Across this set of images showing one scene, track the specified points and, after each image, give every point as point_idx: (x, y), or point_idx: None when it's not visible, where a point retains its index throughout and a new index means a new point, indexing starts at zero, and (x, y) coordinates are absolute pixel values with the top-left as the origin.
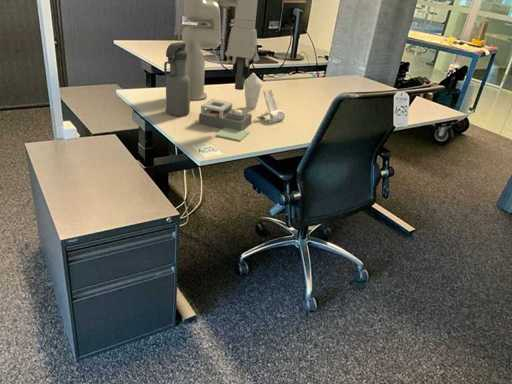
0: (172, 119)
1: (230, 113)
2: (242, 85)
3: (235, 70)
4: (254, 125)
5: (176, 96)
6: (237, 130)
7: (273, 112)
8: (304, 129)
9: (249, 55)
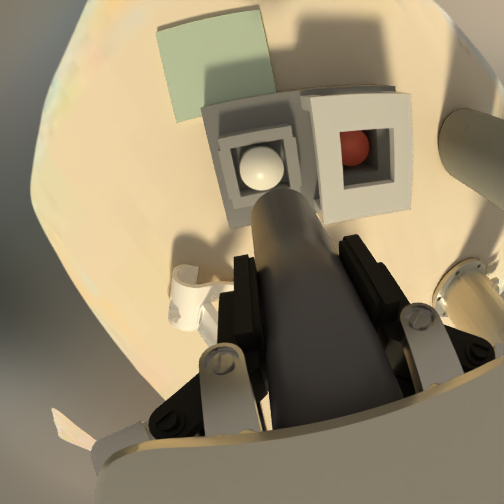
0: (449, 78)
1: (278, 127)
2: (254, 223)
3: (355, 265)
4: (210, 206)
5: (500, 123)
6: (218, 99)
7: (184, 298)
8: (92, 284)
9: (134, 492)
